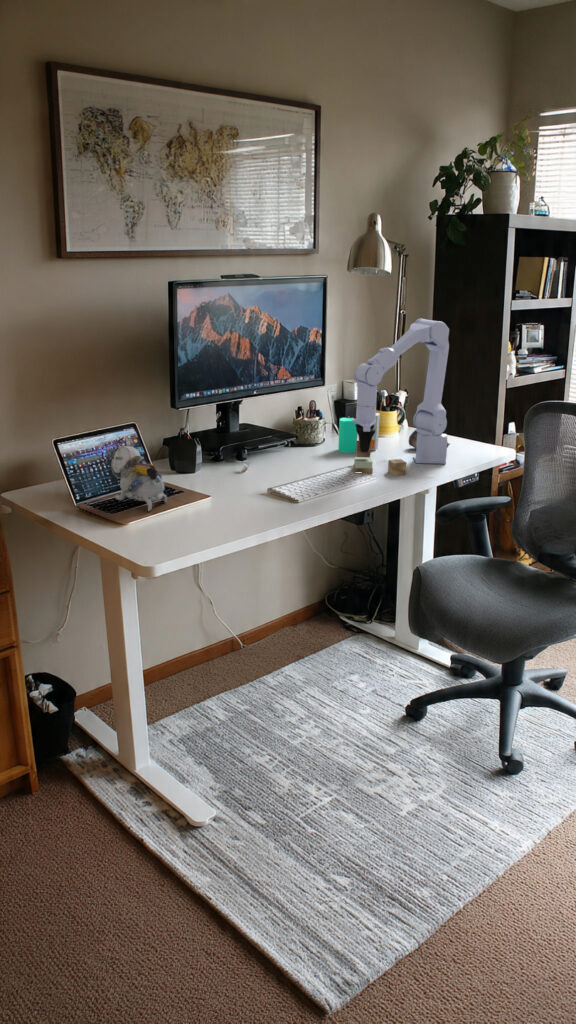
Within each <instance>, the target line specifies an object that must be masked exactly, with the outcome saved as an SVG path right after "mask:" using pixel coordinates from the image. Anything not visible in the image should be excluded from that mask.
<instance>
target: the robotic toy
mask: <svg viewBox="0 0 576 1024" xmlns="http://www.w3.org/2000/svg"><path fill="white" fill-rule="evenodd" d="M107 455H108V456H110V459H111V460H110V461H111V462H110V467H111V472H112V475H113V476H115V477H116V478H118V479H120V482H119V488H120V489H121V492H120V495H119V494H116V495H115V496H114V498H115V499H116V500H118V501H124V500H125V499H127V498H128V499H131V500H136V501H139V502H145V503H146V505H147V510H148V511H149V510H151V511H152V509H153V502H159V501H160V500H161V501H164V502H163V503H166V502H167V501H168V495H167V494H168V492H167V489H166V488H165V483H164V481H163V477H162V475H161V474H159V472H158V471H157V470H156V469H157V468H156V465H154V464H151V463H149V462H147V463H146V461H145V460H143V459H142V456H141V453H140V451H138V449H136V448H135V447H133V446H130V445H124V446H123V445H119V446H118V445H117V447H116V448H115V449H114V448H109V449H108V451H107ZM141 461H143V462H145V463H143V462H142V463H140V462H141ZM114 472H115V473H114ZM119 473H120V475H119ZM164 491H165V492H166V494H165V493H164ZM165 501H166V502H165Z"/></svg>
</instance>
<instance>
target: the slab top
mask: <svg viewBox="0 0 576 1024" xmlns="http://www.w3.org/2000/svg"><path fill="white" fill-rule="evenodd" d="M353 460H354V461H353V466H354V465H355V468H372V467H373V460H372V457H371V456H370V457H357V456H355V457H354V459H353Z"/></svg>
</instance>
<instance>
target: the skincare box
mask: <svg viewBox="0 0 576 1024" xmlns="http://www.w3.org/2000/svg"><path fill="white" fill-rule="evenodd" d="M380 417H381V413H380V412H376V417H375V420H376V423H375V424H374V428H373V429H375V430H376V431H375V433H374V435H373V437H372V440H371V443H370V444H371V449H370V451H374V452H376V450H377V449H378V447H379V432H380Z"/></svg>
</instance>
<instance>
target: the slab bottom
mask: <svg viewBox="0 0 576 1024" xmlns="http://www.w3.org/2000/svg"><path fill="white" fill-rule="evenodd" d="M373 469H374V468H373V466H372V468H355V465H354V464H353V473H354V472H362V473H361V474H366V473H367V474H371V475H372V474H373V471H374V470H373Z"/></svg>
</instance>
